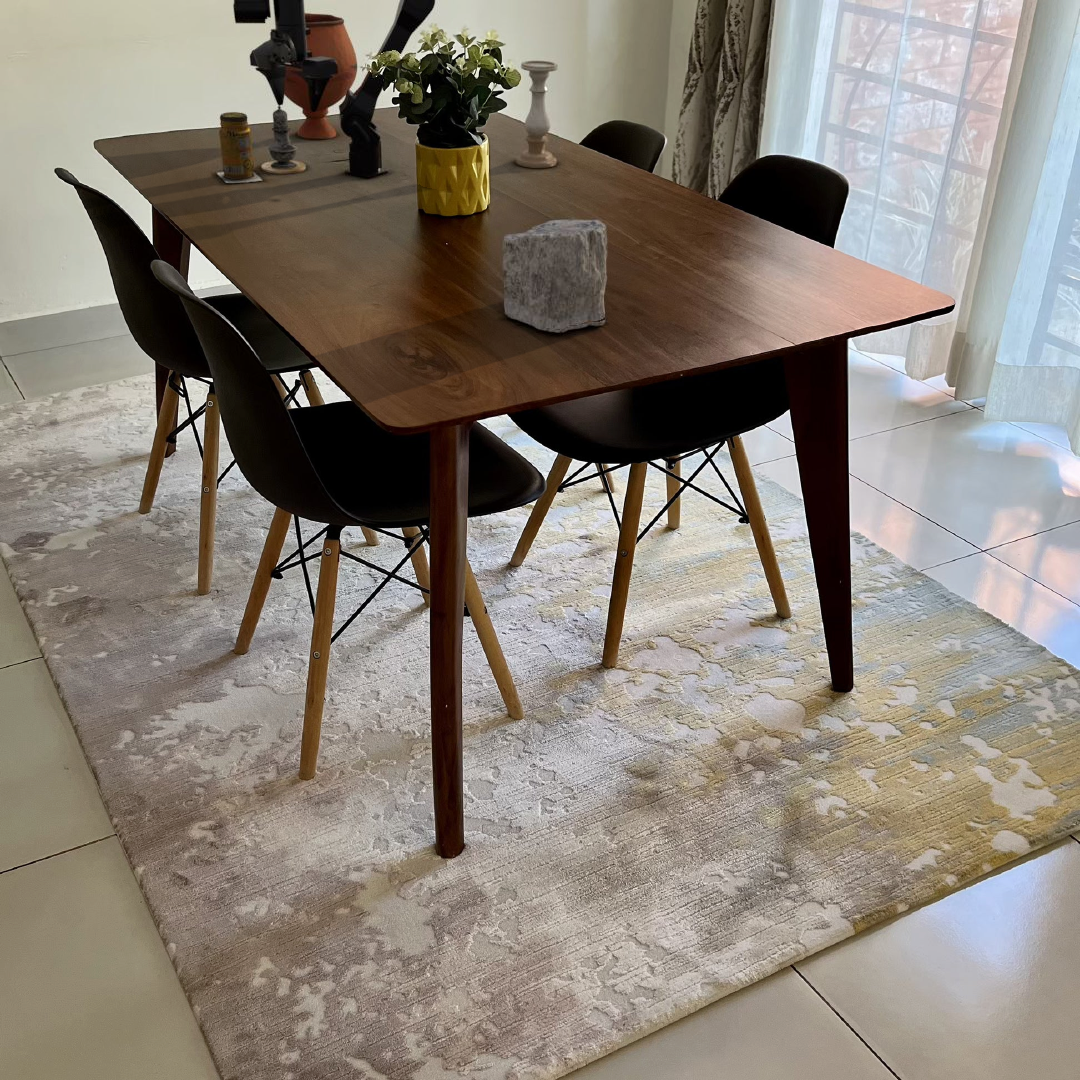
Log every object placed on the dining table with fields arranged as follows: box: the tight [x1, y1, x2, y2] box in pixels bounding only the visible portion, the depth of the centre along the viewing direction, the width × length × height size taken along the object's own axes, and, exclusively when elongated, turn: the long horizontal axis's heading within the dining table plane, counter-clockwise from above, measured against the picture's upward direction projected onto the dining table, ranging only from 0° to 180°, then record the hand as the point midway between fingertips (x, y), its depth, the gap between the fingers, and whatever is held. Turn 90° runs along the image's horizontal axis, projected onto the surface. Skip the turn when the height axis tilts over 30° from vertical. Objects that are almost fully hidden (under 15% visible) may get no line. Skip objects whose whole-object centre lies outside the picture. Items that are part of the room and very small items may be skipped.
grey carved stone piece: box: [267, 105, 298, 169], centre depth 242 cm, size 6×6×12 cm
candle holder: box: [515, 60, 559, 169], centre depth 250 cm, size 9×9×20 cm
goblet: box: [284, 12, 358, 140], centre depth 264 cm, size 19×19×25 cm
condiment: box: [216, 111, 263, 184], centre depth 235 cm, size 7×8×12 cm
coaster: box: [260, 160, 307, 175], centre depth 245 cm, size 9×9×1 cm
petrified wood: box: [501, 219, 608, 333], centre depth 176 cm, size 19×17×15 cm
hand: (296, 108), depth 235 cm, fingers open, 9 cm apart
